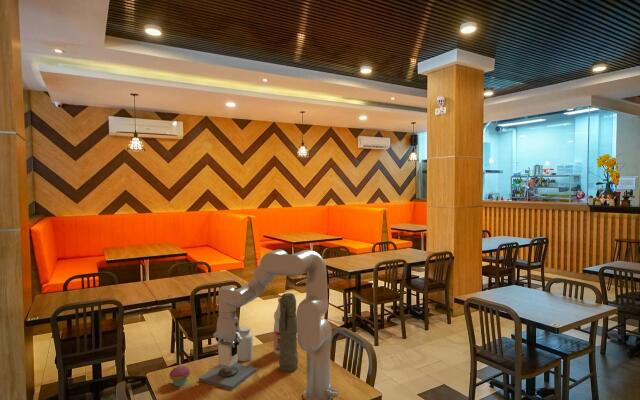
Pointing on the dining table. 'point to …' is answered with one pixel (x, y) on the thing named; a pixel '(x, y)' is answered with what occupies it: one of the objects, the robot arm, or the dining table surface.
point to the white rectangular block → (226, 354)
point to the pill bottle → (245, 345)
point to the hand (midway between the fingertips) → (228, 353)
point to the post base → (227, 376)
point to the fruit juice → (277, 330)
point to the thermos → (288, 333)
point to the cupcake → (179, 374)
